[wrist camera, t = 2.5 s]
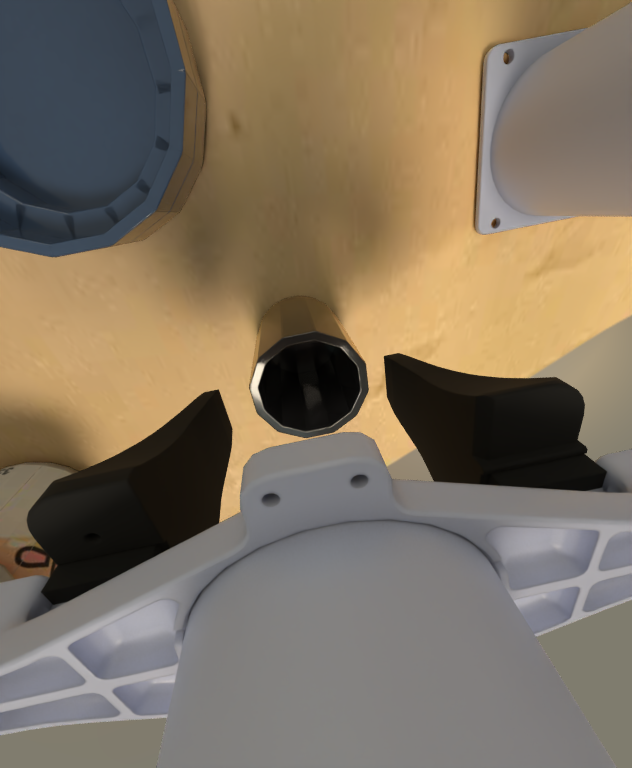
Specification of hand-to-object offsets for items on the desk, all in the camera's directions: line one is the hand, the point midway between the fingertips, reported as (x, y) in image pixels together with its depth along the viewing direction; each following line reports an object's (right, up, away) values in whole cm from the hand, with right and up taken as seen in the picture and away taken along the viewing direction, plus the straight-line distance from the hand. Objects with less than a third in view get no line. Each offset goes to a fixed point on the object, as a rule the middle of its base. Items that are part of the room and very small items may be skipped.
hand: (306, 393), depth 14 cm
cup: (-1, +3, +7) cm, 8 cm away
